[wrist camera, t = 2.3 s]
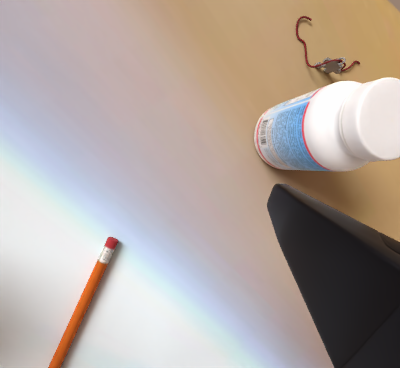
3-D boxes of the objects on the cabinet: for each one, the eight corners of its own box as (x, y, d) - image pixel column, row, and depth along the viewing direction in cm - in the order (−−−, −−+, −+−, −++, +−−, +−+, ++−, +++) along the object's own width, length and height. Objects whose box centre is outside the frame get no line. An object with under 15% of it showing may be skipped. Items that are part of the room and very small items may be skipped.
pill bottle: (289, 180, 27) (400, 193, 16) (240, 147, 25) (327, 135, 14) (318, 128, 27) (446, 106, 16) (272, 92, 25) (381, 40, 15)
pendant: (284, 58, 26) (301, 46, 23) (299, 14, 26) (318, -3, 23) (348, 93, 28) (371, 85, 25) (362, 52, 28) (387, 41, 25)
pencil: (118, 239, 23) (118, 242, 22) (21, 451, 22) (17, 462, 21) (108, 235, 23) (107, 238, 22) (10, 449, 22) (5, 461, 21)
